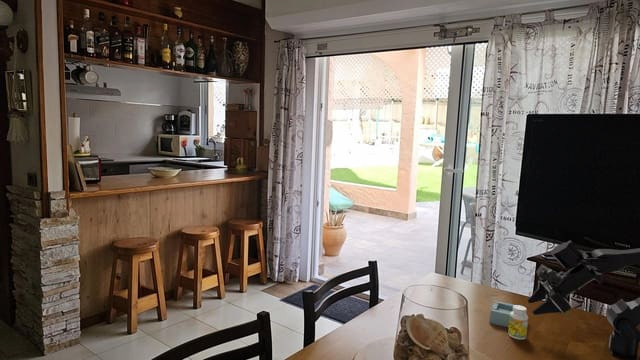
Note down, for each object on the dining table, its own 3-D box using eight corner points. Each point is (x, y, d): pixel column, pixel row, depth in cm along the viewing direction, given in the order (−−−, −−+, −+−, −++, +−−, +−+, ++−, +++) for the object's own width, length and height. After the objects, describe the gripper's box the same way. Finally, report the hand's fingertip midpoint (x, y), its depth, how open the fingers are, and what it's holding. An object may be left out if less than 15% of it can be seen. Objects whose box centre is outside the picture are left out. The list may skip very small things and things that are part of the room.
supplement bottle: (529, 338, 137) (533, 309, 136) (518, 341, 135) (521, 312, 134) (515, 330, 142) (518, 303, 141) (504, 333, 140) (507, 305, 139)
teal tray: (523, 319, 151) (525, 307, 151) (521, 330, 142) (522, 317, 142) (493, 312, 156) (494, 300, 155) (489, 322, 147) (490, 310, 147)
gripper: (549, 250, 142) (509, 278, 146) (563, 267, 124) (517, 298, 128) (573, 277, 140) (532, 304, 145) (590, 298, 123) (543, 328, 127)
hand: (530, 307), depth 136 cm, fingers open, 9 cm apart
